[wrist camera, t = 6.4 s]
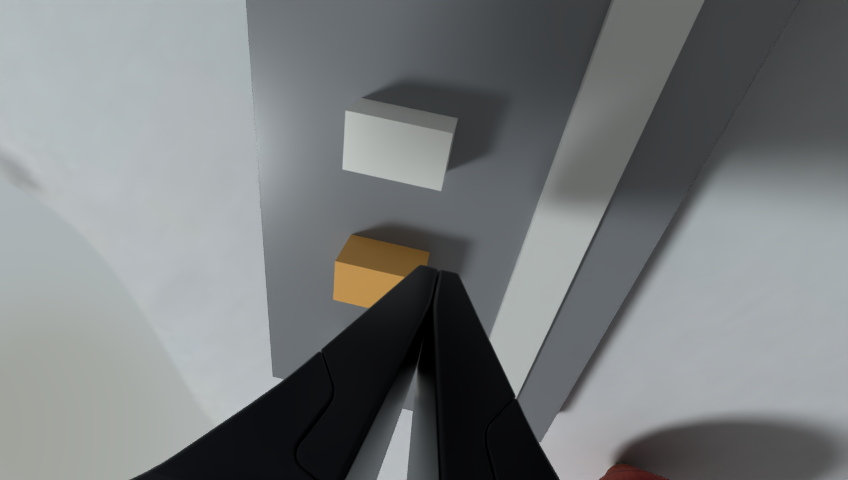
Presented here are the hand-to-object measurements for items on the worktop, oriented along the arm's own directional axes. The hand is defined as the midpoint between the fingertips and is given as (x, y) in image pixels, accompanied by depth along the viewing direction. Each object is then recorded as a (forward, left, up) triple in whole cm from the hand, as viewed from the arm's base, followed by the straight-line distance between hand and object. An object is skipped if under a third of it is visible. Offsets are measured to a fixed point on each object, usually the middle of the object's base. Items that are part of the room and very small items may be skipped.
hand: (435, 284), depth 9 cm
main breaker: (+2, +2, -3) cm, 4 cm away
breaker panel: (0, 0, -4) cm, 4 cm away
